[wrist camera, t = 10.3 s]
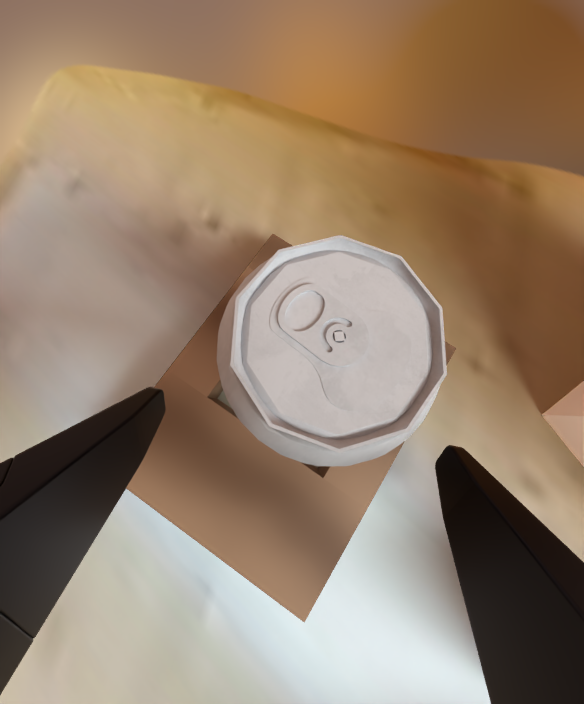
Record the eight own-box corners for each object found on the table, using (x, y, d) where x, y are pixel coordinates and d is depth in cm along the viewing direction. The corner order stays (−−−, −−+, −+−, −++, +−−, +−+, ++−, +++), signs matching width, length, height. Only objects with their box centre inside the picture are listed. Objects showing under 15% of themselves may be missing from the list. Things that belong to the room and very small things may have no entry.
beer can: (306, 444, 16) (372, 547, 4) (242, 392, 17) (144, 357, 5) (354, 378, 17) (521, 315, 5) (292, 331, 17) (315, 171, 6)
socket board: (300, 586, 15) (304, 622, 12) (123, 455, 16) (94, 464, 13) (432, 356, 18) (456, 348, 15) (274, 256, 19) (272, 233, 16)
